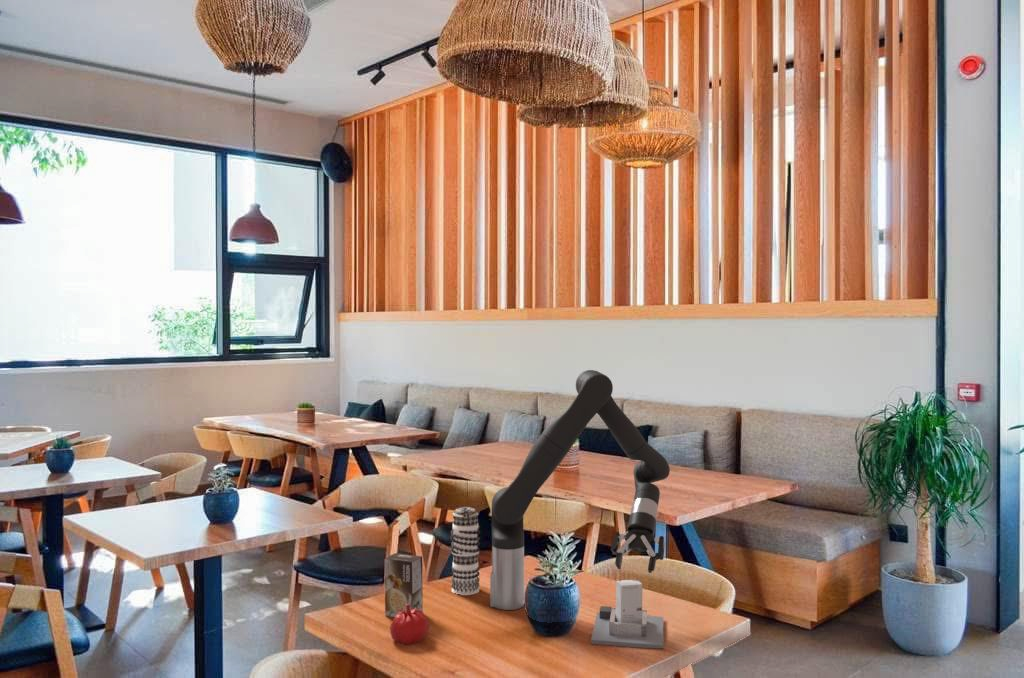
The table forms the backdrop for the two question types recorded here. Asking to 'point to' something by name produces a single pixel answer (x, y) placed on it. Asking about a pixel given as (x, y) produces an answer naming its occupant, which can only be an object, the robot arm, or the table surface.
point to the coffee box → (403, 583)
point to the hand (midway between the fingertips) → (634, 569)
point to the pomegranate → (409, 626)
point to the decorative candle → (465, 551)
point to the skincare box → (629, 601)
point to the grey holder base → (650, 641)
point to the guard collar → (627, 626)
